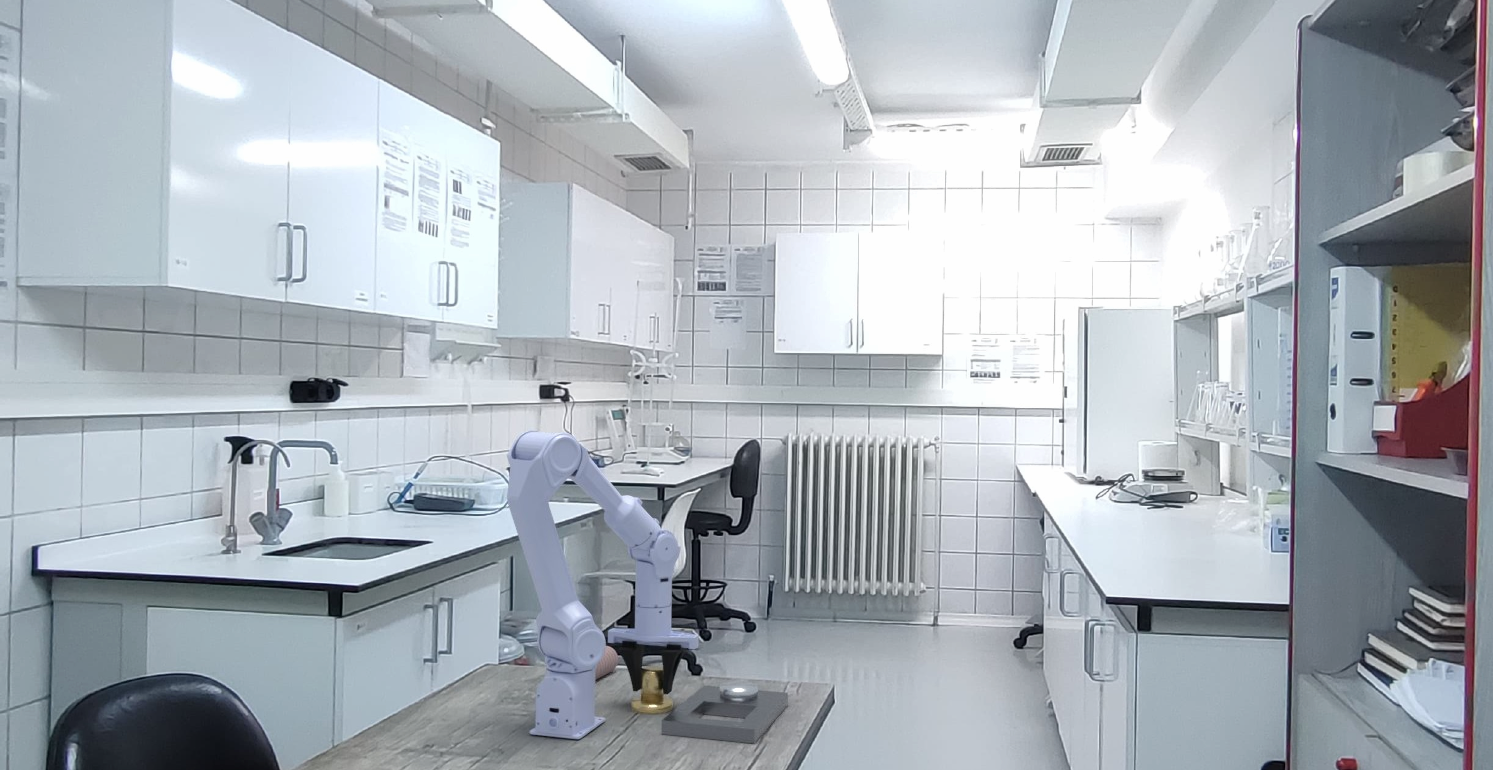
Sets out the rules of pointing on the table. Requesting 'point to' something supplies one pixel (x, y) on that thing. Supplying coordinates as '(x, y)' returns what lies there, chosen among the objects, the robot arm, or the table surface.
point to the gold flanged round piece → (652, 693)
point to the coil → (606, 662)
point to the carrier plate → (726, 712)
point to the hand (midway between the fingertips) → (652, 691)
